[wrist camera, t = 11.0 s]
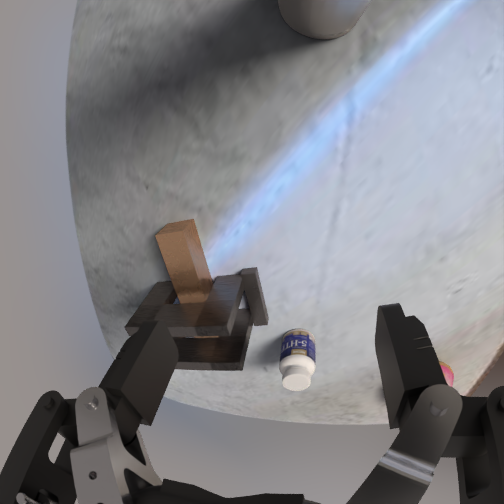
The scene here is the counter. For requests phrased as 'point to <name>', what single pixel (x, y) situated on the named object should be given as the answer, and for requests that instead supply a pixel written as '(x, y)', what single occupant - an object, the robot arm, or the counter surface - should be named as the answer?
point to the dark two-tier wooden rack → (208, 321)
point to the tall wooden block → (185, 261)
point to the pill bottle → (297, 359)
